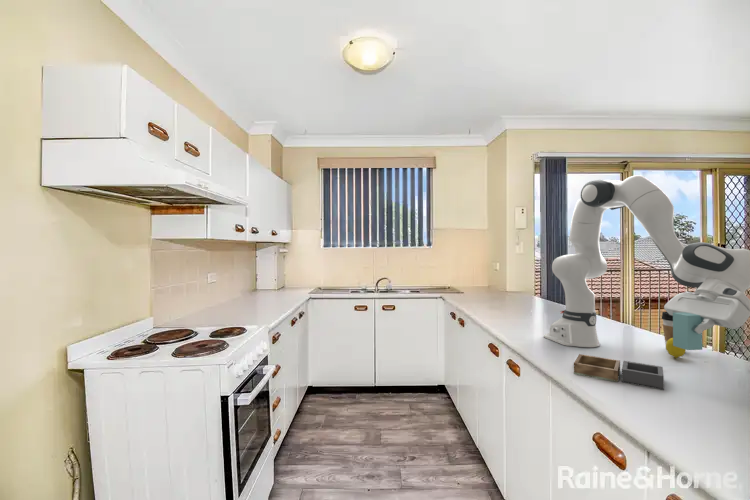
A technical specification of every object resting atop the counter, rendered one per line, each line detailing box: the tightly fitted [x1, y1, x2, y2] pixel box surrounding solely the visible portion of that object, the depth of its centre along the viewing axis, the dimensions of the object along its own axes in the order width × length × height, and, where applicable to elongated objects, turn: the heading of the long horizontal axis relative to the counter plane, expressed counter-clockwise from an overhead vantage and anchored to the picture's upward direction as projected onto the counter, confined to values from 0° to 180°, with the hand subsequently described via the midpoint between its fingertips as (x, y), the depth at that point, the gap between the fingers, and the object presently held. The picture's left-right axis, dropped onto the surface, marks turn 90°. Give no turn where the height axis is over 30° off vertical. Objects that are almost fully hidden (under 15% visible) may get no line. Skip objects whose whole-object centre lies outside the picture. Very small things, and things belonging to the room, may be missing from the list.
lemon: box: [665, 338, 687, 359], centre depth 128 cm, size 6×6×8 cm
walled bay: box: [573, 353, 621, 383], centre depth 115 cm, size 12×12×4 cm
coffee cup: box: [661, 311, 673, 346], centre depth 137 cm, size 8×8×15 cm
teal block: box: [673, 312, 703, 351], centre depth 101 cm, size 4×4×10 cm
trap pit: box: [621, 360, 665, 391], centre depth 107 cm, size 10×10×4 cm
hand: (685, 329), depth 101 cm, fingers closed on teal block, 4 cm apart
